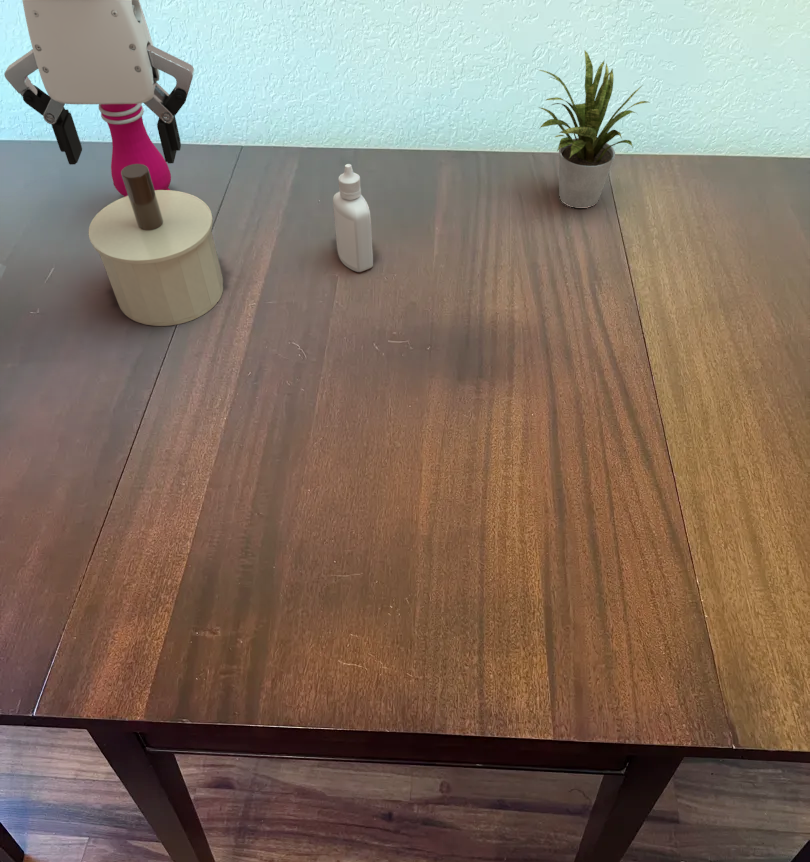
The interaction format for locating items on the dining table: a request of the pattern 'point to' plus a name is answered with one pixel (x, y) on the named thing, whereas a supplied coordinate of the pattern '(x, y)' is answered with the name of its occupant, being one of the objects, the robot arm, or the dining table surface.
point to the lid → (149, 222)
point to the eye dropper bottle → (352, 223)
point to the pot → (168, 286)
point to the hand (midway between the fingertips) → (124, 157)
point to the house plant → (587, 140)
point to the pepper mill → (133, 145)
